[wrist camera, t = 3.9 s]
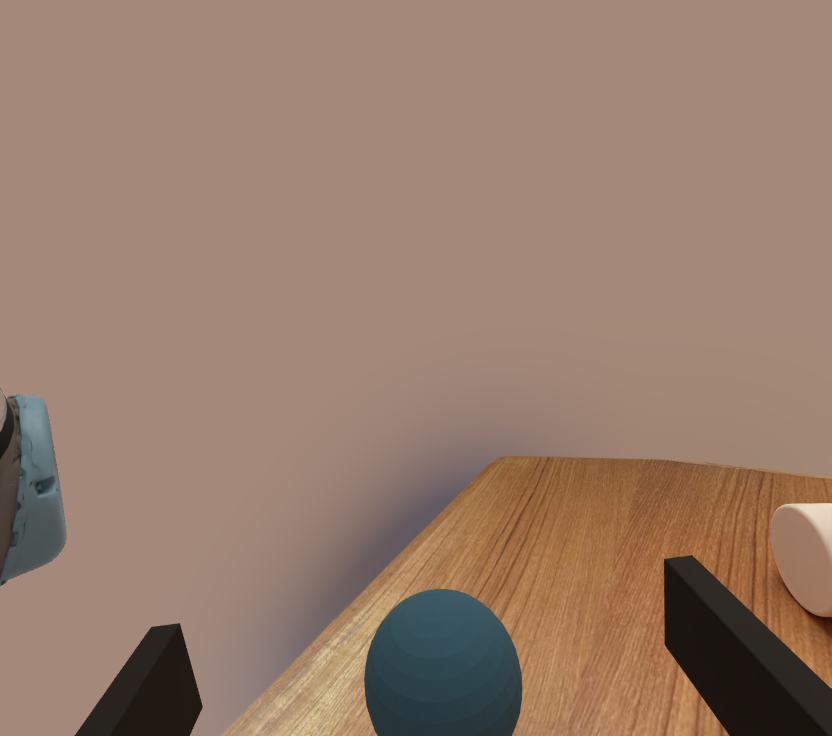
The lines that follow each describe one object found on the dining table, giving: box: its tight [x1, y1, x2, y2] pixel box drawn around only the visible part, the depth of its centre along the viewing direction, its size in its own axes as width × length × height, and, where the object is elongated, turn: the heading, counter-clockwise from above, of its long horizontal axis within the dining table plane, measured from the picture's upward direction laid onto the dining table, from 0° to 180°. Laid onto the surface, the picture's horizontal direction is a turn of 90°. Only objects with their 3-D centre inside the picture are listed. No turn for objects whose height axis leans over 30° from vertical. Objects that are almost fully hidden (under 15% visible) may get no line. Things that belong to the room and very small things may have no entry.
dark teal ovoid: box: [364, 589, 522, 736], centre depth 24 cm, size 8×8×12 cm
